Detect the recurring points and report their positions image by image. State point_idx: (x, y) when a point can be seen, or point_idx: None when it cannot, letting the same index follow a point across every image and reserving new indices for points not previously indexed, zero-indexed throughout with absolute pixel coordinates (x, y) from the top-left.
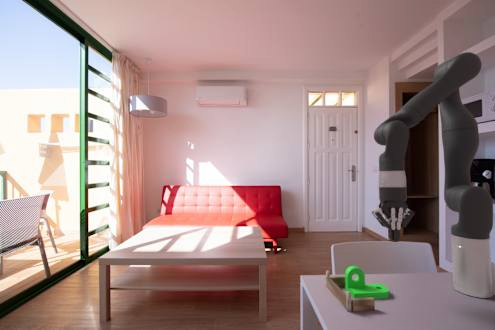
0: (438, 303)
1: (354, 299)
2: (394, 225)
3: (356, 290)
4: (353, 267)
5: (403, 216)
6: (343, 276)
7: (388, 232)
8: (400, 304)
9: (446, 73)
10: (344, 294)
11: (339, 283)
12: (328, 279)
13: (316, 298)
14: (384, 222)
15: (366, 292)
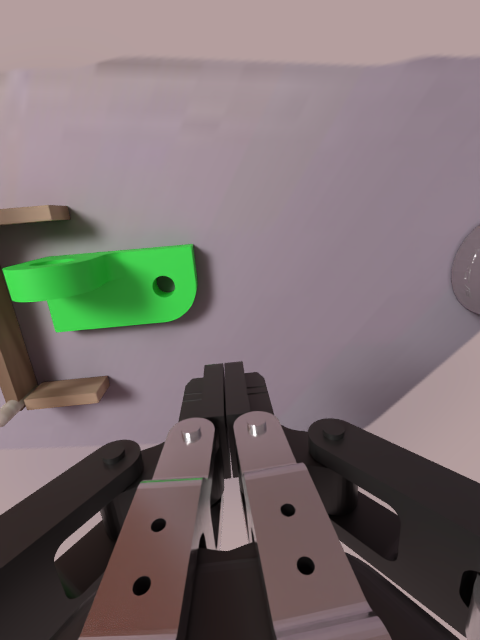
0: (320, 343)
1: (32, 406)
2: (214, 525)
3: (70, 307)
4: (26, 291)
5: (445, 543)
6: (26, 211)
7: (180, 417)
8: (202, 351)
9: None
10: (4, 376)
11: (20, 223)
12: None
13: None
14: (73, 583)
15: (103, 323)
